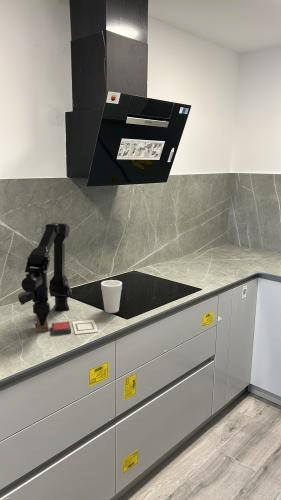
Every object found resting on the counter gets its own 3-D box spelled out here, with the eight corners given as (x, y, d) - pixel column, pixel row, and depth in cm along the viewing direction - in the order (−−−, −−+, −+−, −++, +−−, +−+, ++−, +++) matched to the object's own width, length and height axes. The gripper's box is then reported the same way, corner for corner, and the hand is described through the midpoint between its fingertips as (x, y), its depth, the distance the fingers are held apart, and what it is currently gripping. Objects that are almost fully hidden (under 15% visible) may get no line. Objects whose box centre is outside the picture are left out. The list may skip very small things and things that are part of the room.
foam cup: (103, 315, 174) (103, 287, 171) (99, 307, 183) (99, 280, 180) (124, 313, 177) (124, 285, 174) (119, 305, 185) (119, 279, 182)
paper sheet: (72, 322, 166) (72, 321, 166) (93, 320, 168) (93, 319, 168) (75, 334, 155) (75, 333, 154) (98, 332, 157) (98, 331, 157)
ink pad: (51, 326, 162) (51, 322, 161) (69, 324, 164) (68, 320, 163) (53, 334, 154) (52, 330, 154) (71, 332, 156) (70, 328, 156)
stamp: (35, 327, 161) (34, 308, 159) (48, 326, 162) (47, 307, 160) (35, 332, 156) (34, 313, 154) (48, 331, 158) (47, 312, 156)
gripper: (19, 278, 161) (21, 314, 165) (18, 293, 144) (20, 332, 147) (46, 276, 164) (48, 311, 168) (49, 291, 147) (50, 329, 150)
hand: (41, 320), depth 158 cm, fingers open, 9 cm apart
